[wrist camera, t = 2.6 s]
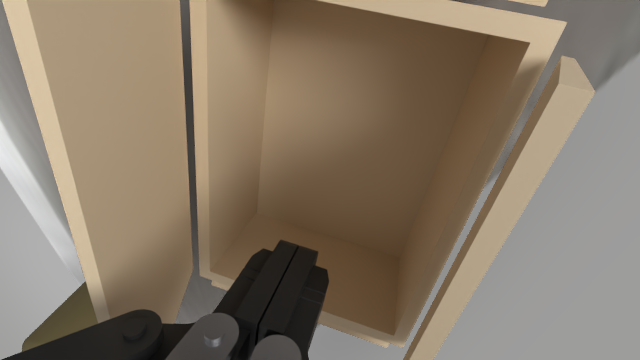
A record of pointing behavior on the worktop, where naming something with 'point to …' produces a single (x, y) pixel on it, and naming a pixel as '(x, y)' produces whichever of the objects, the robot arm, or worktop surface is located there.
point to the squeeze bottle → (65, 319)
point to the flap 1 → (115, 141)
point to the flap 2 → (506, 201)
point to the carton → (354, 138)
